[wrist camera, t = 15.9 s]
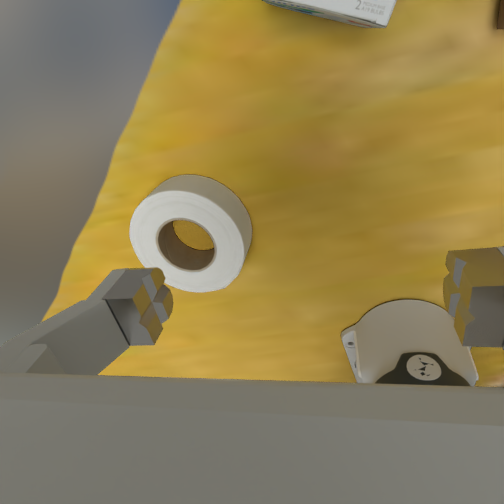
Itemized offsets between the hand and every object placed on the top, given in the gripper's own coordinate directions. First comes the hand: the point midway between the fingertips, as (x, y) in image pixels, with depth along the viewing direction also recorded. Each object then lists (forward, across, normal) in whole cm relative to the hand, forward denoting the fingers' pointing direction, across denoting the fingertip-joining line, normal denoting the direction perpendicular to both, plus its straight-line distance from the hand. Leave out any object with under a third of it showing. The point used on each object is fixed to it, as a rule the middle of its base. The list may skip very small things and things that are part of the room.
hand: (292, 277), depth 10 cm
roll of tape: (+34, +18, +15) cm, 41 cm away
